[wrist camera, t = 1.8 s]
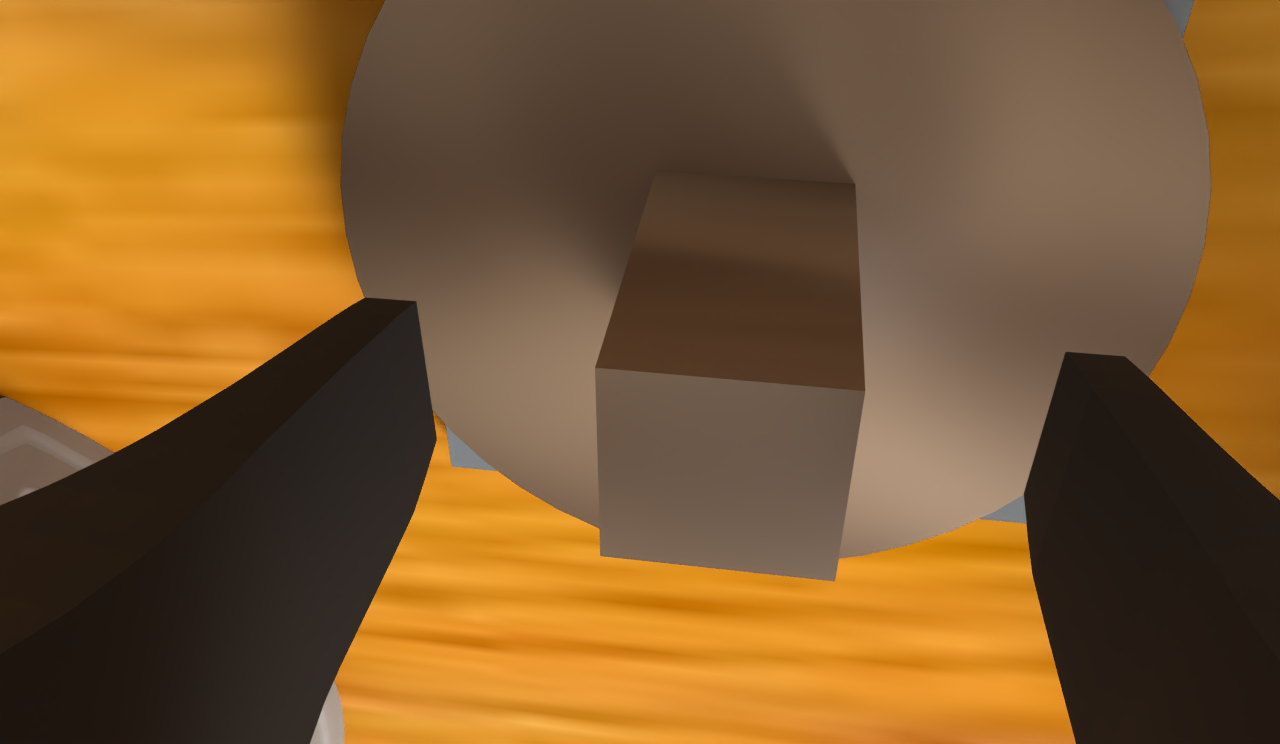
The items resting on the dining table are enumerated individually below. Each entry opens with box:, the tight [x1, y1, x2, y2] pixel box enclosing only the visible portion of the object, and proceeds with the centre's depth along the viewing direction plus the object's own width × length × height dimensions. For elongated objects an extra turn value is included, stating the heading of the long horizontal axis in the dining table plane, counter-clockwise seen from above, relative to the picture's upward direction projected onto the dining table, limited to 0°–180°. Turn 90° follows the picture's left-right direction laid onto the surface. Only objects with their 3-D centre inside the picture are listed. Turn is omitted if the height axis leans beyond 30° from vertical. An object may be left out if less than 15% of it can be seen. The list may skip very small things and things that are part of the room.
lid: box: [341, 0, 1211, 581], centre depth 13 cm, size 12×12×5 cm
